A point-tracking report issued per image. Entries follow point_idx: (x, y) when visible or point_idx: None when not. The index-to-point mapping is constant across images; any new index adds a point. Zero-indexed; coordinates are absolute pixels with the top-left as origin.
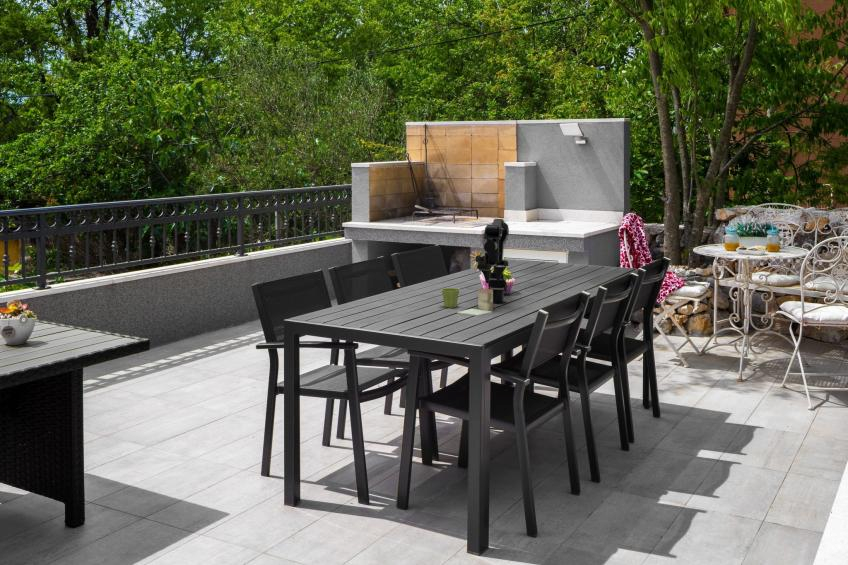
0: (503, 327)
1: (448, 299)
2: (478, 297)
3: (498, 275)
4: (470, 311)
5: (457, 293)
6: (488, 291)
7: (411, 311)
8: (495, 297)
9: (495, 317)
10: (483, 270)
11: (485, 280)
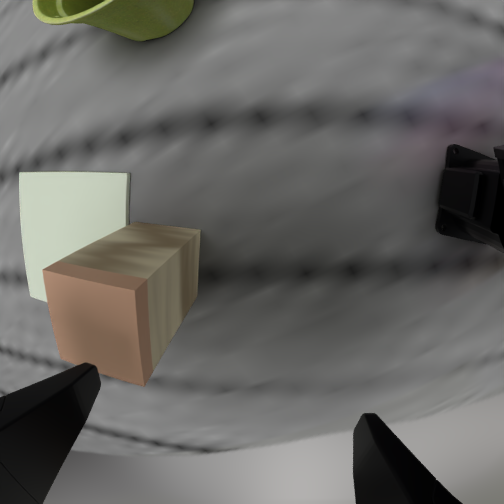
0: None
1: (84, 10)
2: (84, 247)
3: (372, 497)
4: (58, 222)
5: (95, 19)
6: (83, 361)
7: (3, 11)
8: (456, 211)
9: (65, 367)
10: None
11: (54, 378)
